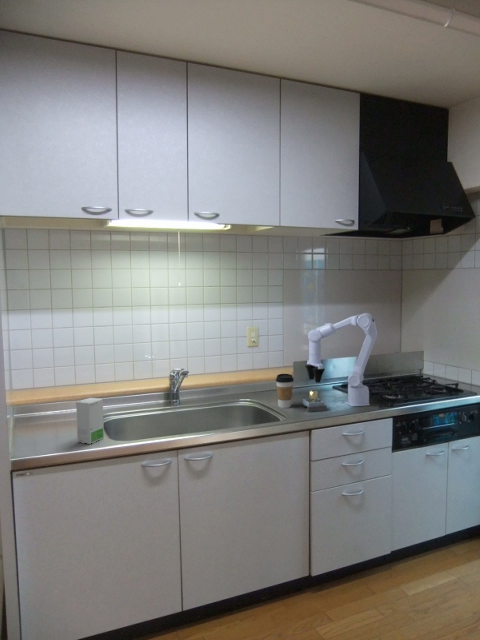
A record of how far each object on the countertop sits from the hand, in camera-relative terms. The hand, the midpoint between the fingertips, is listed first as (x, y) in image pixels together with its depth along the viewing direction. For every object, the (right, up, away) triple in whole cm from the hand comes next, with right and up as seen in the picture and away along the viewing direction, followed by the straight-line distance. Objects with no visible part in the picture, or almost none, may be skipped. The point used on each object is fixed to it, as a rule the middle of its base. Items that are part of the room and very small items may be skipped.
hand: (314, 380), depth 238 cm
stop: (-2, -12, -18) cm, 21 cm away
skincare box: (-94, -16, -55) cm, 110 cm away
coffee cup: (-16, -11, -9) cm, 21 cm away
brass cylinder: (-3, -9, -13) cm, 16 cm away
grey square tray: (-3, -11, -14) cm, 18 cm away
